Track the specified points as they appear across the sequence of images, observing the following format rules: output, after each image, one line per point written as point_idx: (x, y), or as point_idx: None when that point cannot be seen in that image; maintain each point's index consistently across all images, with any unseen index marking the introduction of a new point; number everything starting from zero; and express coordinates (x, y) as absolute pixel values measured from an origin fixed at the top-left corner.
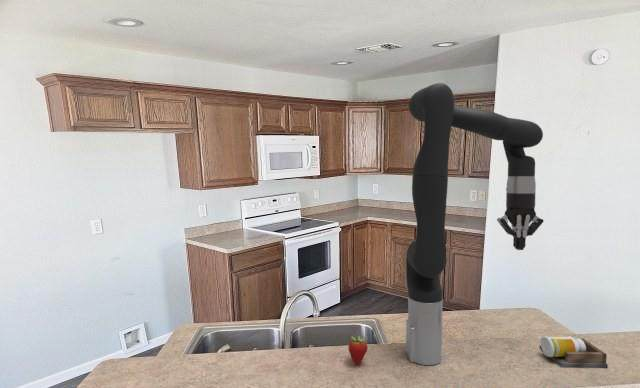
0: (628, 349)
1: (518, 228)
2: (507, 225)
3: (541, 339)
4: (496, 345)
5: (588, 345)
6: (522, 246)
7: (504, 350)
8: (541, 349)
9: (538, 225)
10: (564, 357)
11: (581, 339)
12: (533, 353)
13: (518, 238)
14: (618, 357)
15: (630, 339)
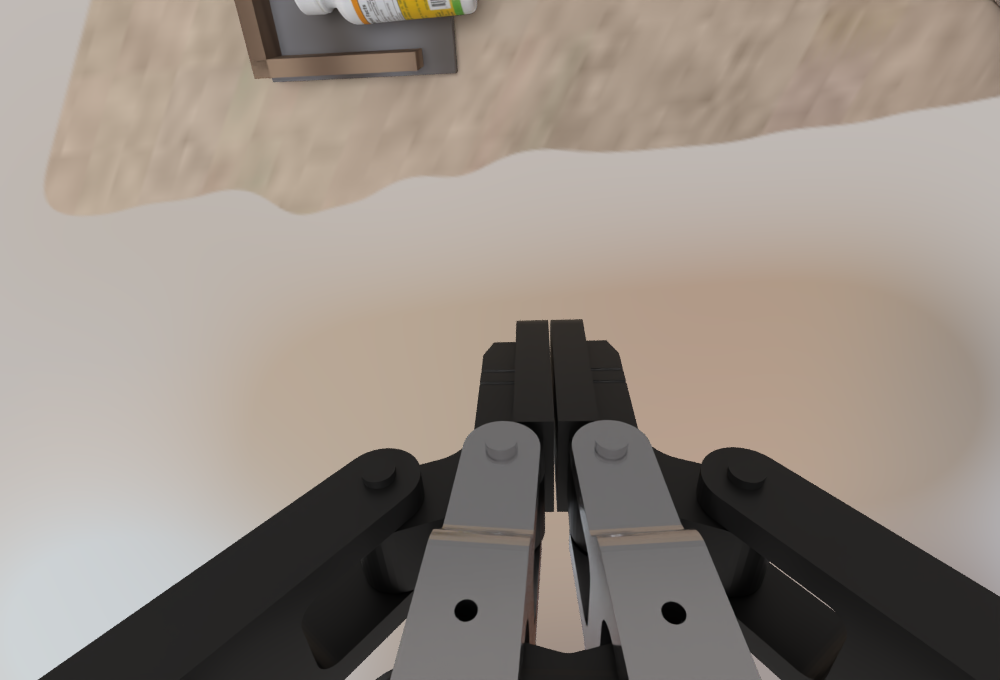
0: (88, 97)
1: (674, 546)
2: (977, 646)
3: (473, 1)
4: (636, 91)
5: (255, 6)
6: (533, 337)
7: (624, 40)
8: (455, 54)
9: (147, 634)
10: None
11: (265, 67)
12: (504, 19)
13: (597, 422)
14: (151, 11)
15: (54, 192)
